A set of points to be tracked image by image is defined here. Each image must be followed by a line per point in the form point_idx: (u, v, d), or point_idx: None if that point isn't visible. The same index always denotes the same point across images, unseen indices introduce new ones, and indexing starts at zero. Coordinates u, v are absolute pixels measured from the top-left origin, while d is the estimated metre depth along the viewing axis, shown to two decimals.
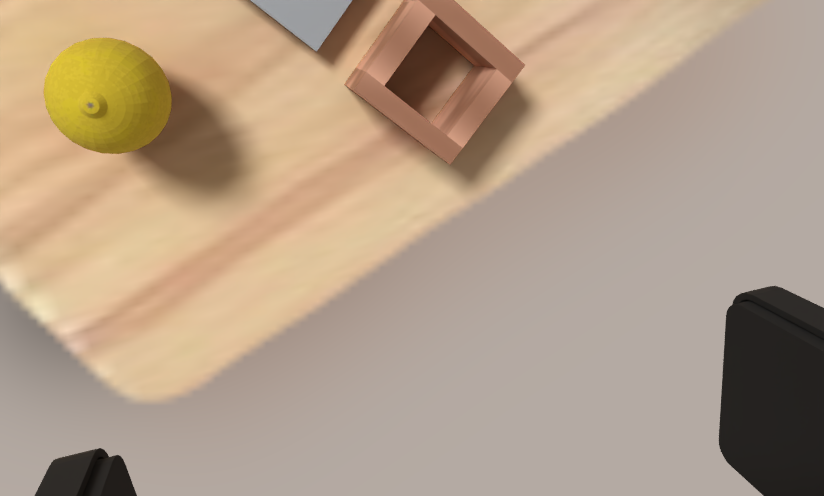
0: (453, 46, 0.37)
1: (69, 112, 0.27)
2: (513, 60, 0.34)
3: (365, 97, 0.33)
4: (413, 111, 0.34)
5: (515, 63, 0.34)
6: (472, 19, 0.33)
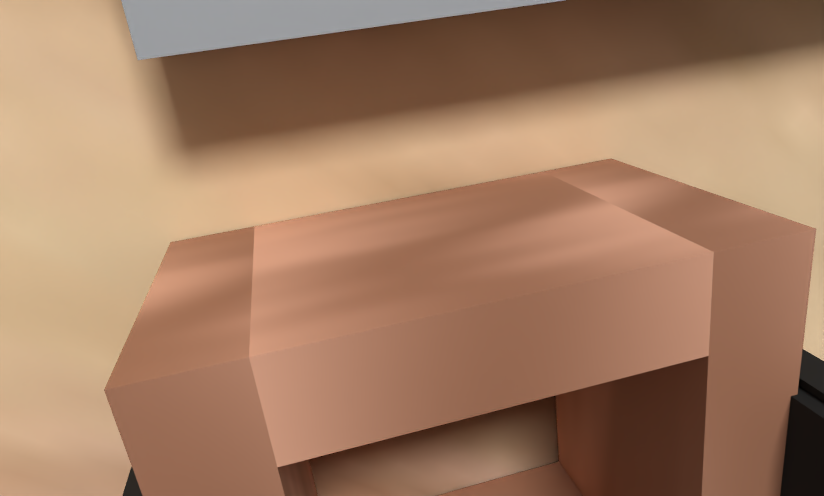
0: None
1: None
2: None
3: (140, 458, 0.05)
4: None
5: None
6: (782, 461, 0.07)
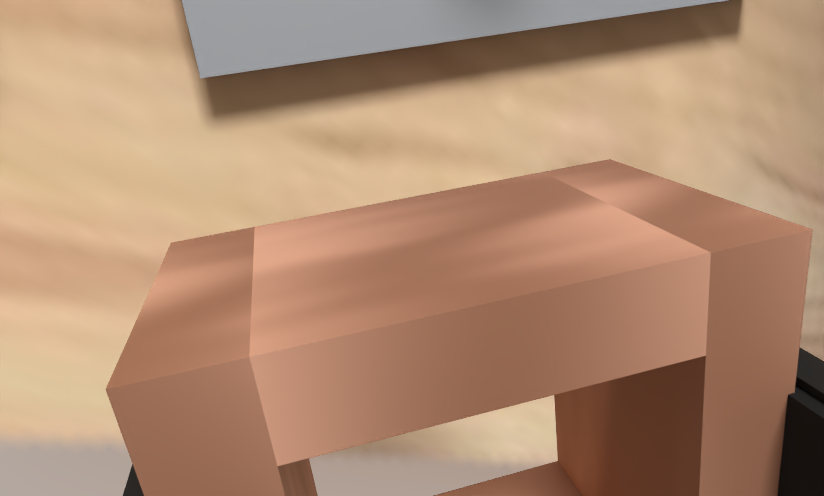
0: None
1: None
2: None
3: (141, 457, 0.05)
4: None
5: None
6: (779, 460, 0.07)
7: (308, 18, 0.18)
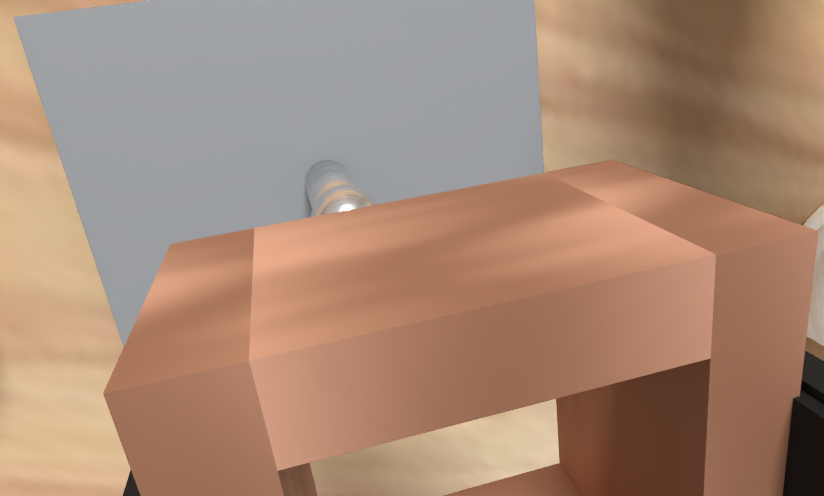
0: None
1: None
2: None
3: (140, 462, 0.05)
4: None
5: None
6: (784, 464, 0.07)
7: None
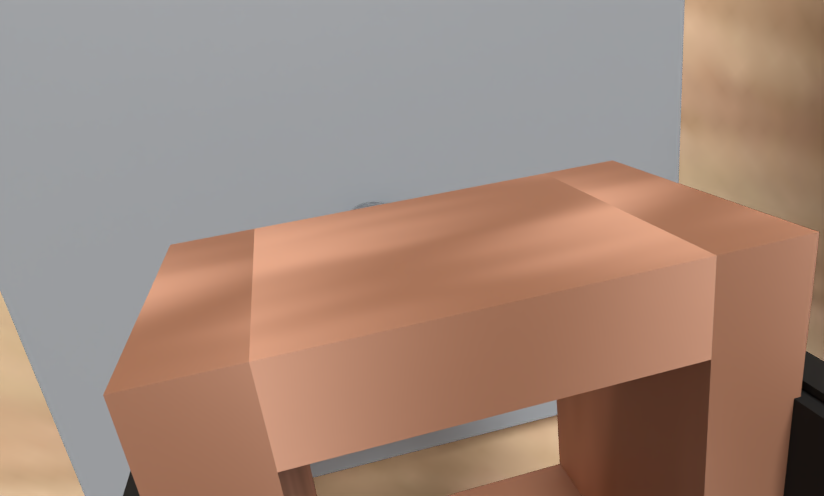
0: None
1: None
2: None
3: (140, 463, 0.05)
4: None
5: None
6: (784, 465, 0.07)
7: None
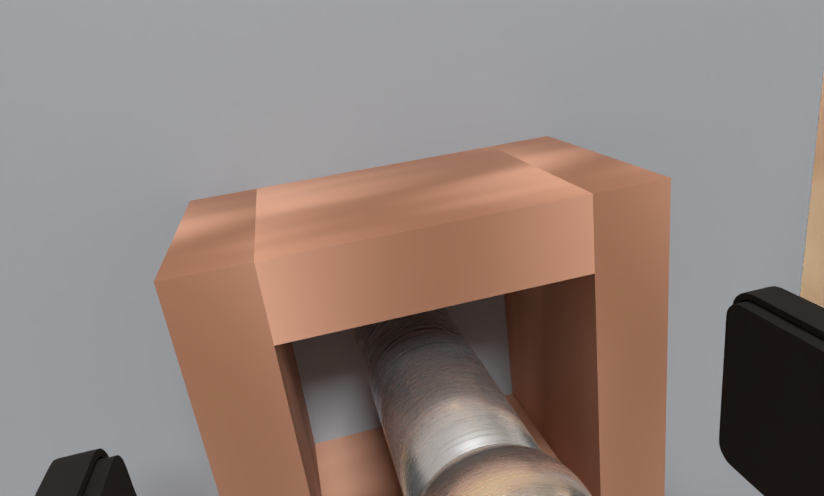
0: (510, 328, 0.13)
1: None
2: None
3: (177, 333, 0.08)
4: (298, 478, 0.09)
5: None
6: (661, 361, 0.10)
7: None
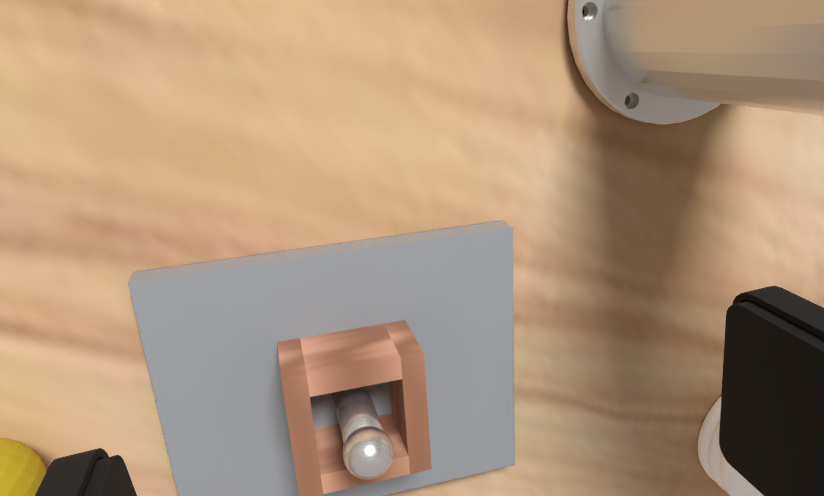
0: (390, 388, 0.35)
1: None
2: (426, 458, 0.32)
3: (285, 393, 0.29)
4: (312, 435, 0.30)
5: (425, 462, 0.32)
6: (425, 405, 0.31)
7: None
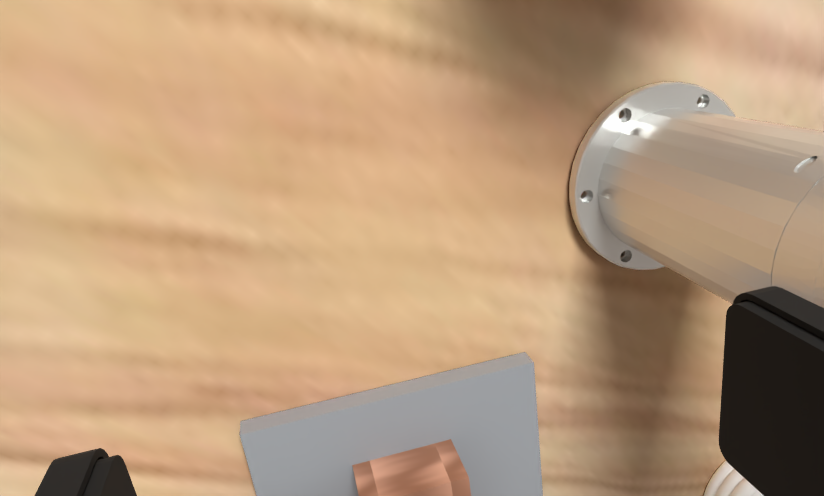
0: None
1: None
2: None
3: None
4: None
5: None
6: None
7: None
